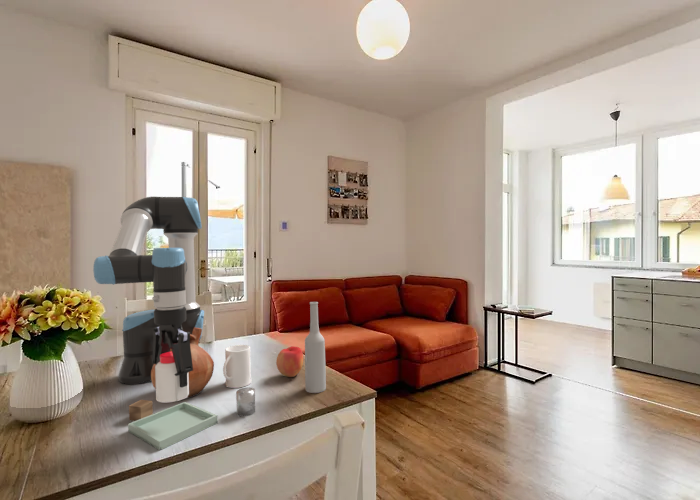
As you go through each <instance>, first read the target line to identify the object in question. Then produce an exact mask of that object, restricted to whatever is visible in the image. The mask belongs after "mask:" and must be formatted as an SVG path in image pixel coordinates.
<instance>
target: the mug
mask: <svg viewBox="0 0 700 500" xmlns="http://www.w3.org/2000/svg"><path fill="white" fill-rule="evenodd" d="M224 350H225V352H224V354H225V355H224V357H225V361H224V364H223V368H222V371H223V376H224V378H225V386H226V387H227V388H230V389H239V388H240V389H241V388H246V387H248V386H249V385H251V384H252V382H253V381H252V380H253V379H252V375H251V374H252V373H251V372H252V371H251V369H252V367H251V366H252V365H251V346H249V345H247V344H238V345H237V344H236V345H235V344H234V345H230V346H228V347H225V349H224Z"/></svg>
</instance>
